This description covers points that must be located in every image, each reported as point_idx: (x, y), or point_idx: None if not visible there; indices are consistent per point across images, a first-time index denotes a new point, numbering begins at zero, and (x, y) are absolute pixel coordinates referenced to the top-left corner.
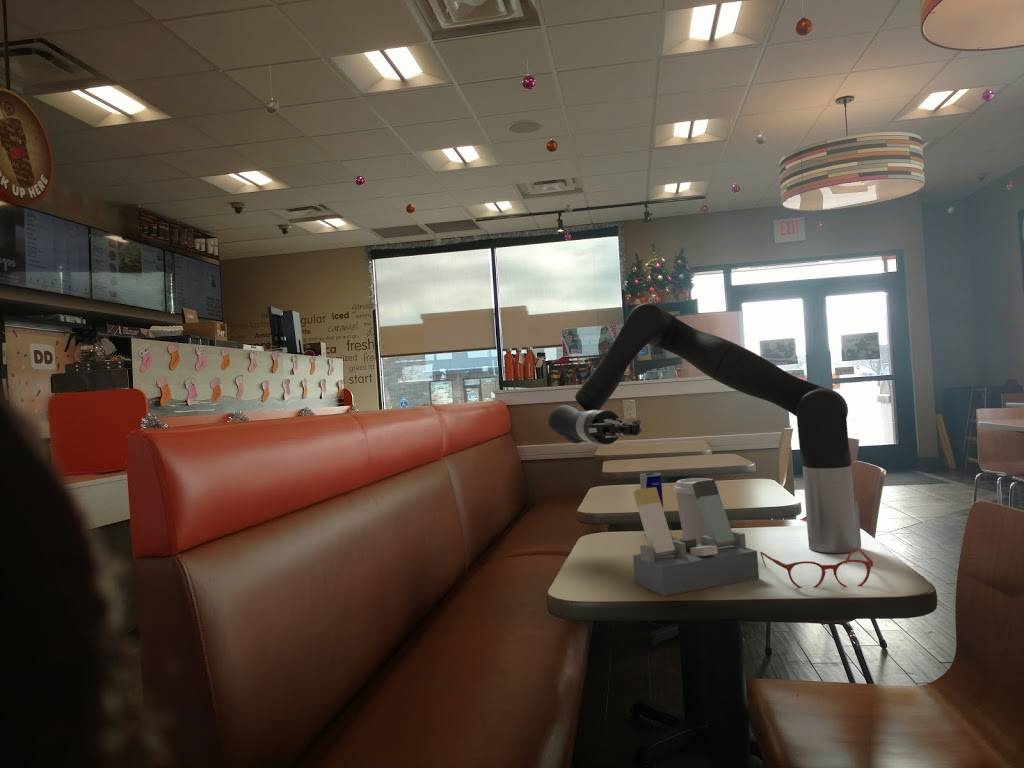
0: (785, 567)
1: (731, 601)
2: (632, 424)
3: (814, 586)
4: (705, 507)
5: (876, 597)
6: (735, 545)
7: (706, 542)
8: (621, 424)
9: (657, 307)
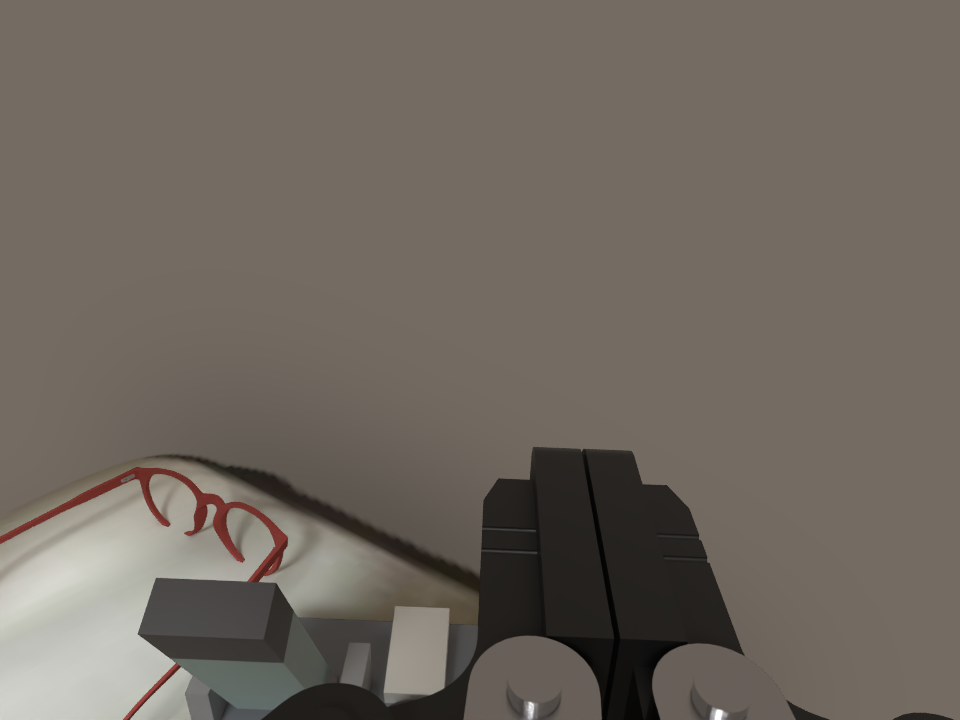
0: (287, 541)
1: (474, 580)
2: (610, 453)
3: (240, 557)
4: (302, 628)
5: (229, 476)
6: (225, 704)
7: (366, 681)
8: (724, 664)
9: None
